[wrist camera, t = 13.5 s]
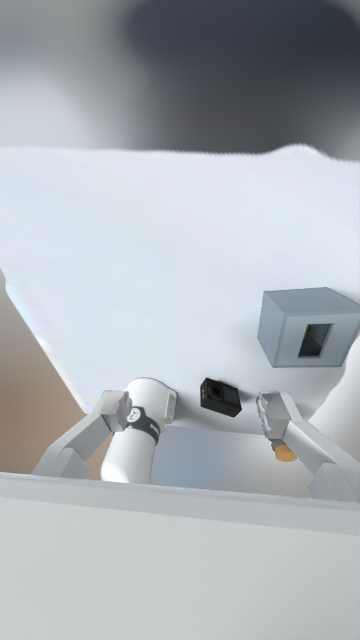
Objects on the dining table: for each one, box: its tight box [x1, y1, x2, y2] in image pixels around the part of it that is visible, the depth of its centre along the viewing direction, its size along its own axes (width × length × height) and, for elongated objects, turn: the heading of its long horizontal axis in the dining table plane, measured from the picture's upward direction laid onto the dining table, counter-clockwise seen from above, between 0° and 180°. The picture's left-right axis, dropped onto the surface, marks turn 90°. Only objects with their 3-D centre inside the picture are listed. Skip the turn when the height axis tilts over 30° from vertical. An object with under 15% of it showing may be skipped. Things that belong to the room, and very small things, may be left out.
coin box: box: [258, 287, 360, 368], centre depth 34 cm, size 12×12×10 cm
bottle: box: [256, 397, 298, 462], centre depth 47 cm, size 6×6×15 cm
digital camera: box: [200, 378, 242, 417], centre depth 49 cm, size 10×5×7 cm, turn 69°
